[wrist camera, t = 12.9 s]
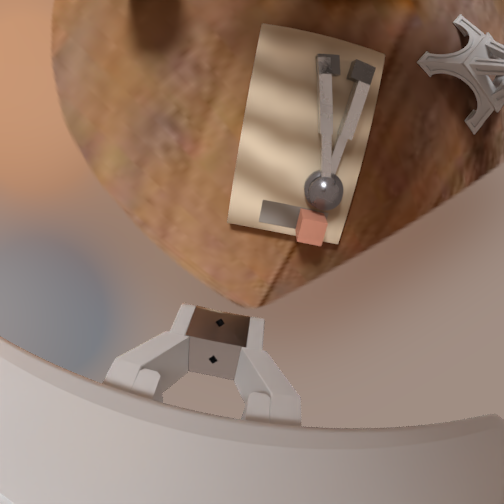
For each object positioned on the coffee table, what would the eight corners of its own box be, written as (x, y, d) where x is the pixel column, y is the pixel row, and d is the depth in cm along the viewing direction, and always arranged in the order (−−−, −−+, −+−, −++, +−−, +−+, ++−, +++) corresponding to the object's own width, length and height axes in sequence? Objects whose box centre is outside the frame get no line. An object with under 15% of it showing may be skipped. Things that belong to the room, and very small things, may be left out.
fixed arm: (333, 211, 37) (337, 218, 35) (298, 199, 36) (299, 205, 34) (382, 75, 28) (389, 73, 26) (345, 59, 28) (350, 56, 26)
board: (262, 26, 28) (261, 23, 26) (381, 56, 28) (385, 54, 26) (228, 218, 40) (226, 223, 39) (335, 239, 40) (338, 244, 39)
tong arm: (338, 204, 36) (341, 210, 34) (307, 204, 36) (308, 210, 34) (338, 57, 27) (342, 54, 25) (304, 56, 28) (306, 52, 26)
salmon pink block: (300, 208, 36) (302, 218, 33) (323, 213, 36) (327, 223, 33) (295, 229, 38) (296, 241, 35) (317, 234, 38) (321, 246, 35)
